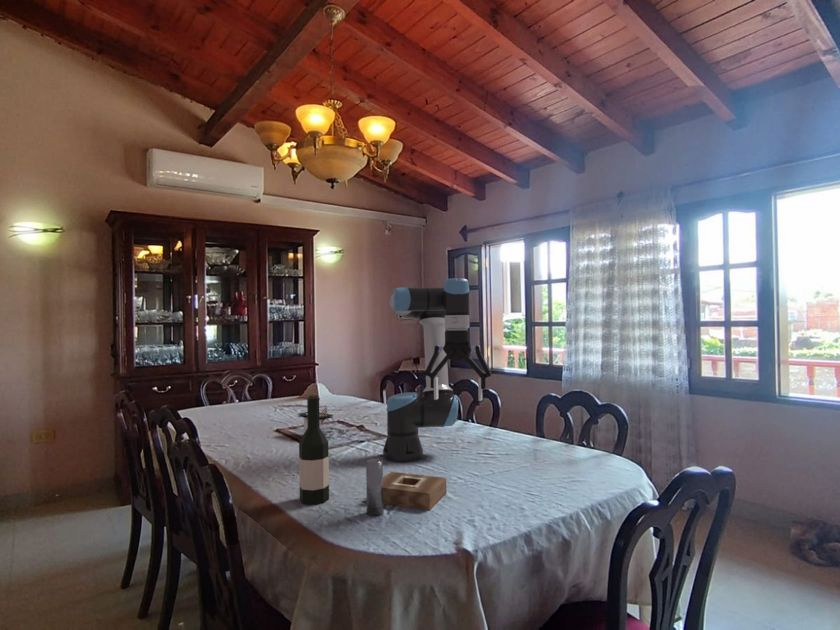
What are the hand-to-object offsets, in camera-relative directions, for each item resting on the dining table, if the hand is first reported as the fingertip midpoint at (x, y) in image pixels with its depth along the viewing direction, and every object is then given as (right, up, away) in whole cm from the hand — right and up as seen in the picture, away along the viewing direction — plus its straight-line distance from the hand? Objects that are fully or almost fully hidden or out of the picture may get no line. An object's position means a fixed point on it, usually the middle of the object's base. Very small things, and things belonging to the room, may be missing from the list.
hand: (458, 399), depth 154 cm
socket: (-15, -27, -7) cm, 32 cm away
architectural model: (-57, -29, +70) cm, 94 cm away
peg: (-24, -27, -18) cm, 40 cm away
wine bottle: (-42, -28, -8) cm, 51 cm away
